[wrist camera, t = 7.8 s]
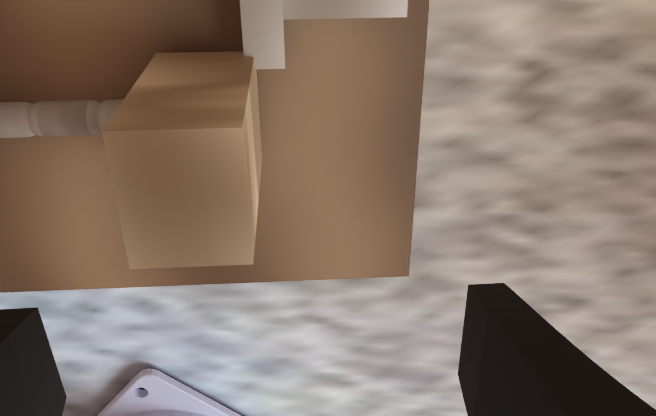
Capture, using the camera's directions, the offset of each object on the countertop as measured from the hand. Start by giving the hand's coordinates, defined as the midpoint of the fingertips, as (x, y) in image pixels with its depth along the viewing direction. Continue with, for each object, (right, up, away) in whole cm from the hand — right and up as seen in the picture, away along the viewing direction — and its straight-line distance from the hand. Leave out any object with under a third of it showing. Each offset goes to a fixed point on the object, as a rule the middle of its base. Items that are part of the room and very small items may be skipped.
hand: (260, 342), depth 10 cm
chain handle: (-6, +7, +5) cm, 10 cm away
